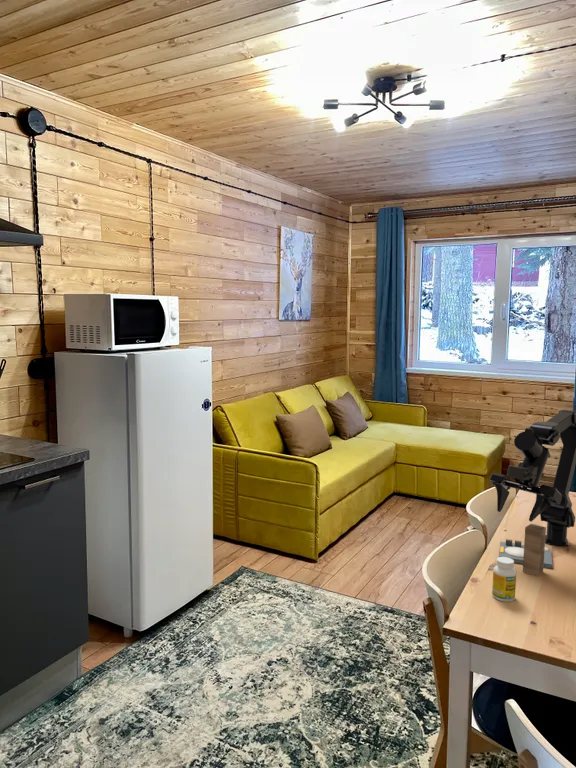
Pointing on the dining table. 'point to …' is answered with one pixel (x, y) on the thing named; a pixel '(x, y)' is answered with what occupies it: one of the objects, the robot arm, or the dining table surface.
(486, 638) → the dining table surface
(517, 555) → the panel
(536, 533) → the post
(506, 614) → the dining table surface
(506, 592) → the supplement bottle
